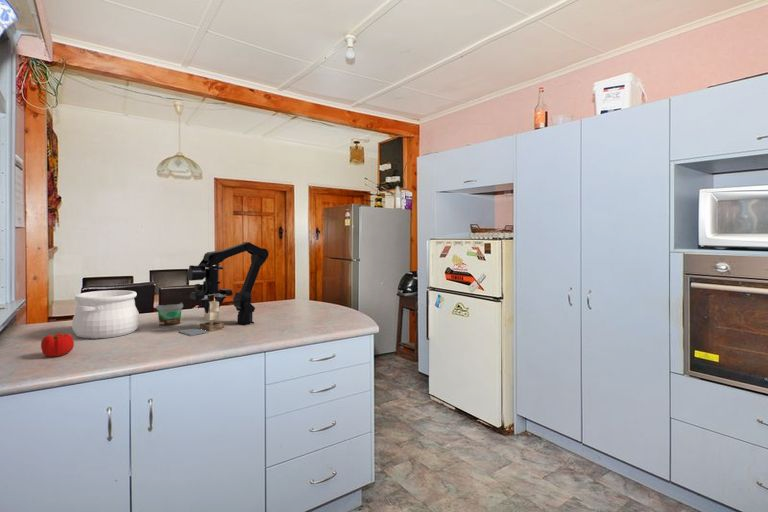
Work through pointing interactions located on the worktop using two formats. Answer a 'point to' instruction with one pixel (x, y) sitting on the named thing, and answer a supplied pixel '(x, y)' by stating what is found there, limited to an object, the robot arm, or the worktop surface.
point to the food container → (169, 314)
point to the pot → (105, 314)
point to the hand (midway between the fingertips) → (211, 312)
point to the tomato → (57, 344)
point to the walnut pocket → (211, 326)
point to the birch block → (212, 311)
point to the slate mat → (193, 331)
